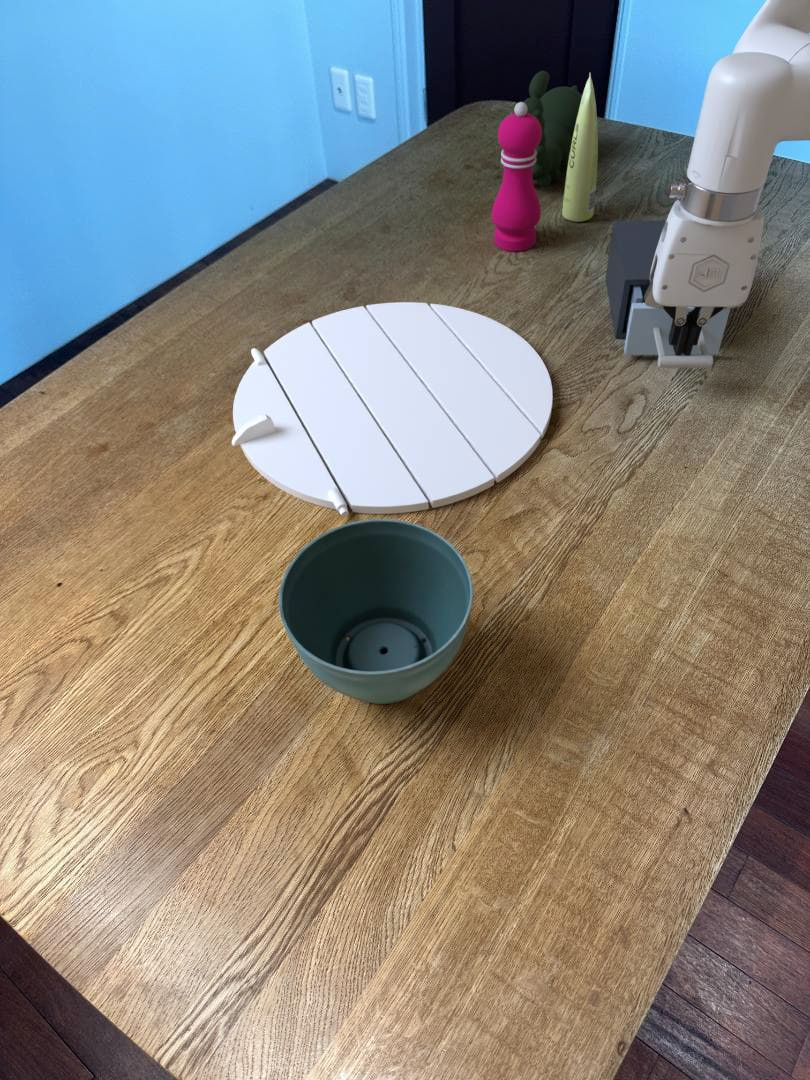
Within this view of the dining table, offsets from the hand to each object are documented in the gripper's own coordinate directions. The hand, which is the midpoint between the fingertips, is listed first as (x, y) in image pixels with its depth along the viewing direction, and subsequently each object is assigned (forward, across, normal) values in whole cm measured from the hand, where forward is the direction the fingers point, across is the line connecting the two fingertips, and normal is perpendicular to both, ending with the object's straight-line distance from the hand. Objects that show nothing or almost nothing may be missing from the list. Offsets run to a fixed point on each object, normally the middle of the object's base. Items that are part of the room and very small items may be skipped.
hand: (680, 348), depth 95 cm
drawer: (+4, +1, +8) cm, 9 cm away
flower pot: (+7, -32, -40) cm, 52 cm away
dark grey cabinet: (+5, +1, +17) cm, 18 cm away
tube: (+5, -8, +43) cm, 44 cm away
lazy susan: (+6, -34, -2) cm, 35 cm away
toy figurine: (+5, -12, +59) cm, 61 cm away
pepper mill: (+5, -18, +35) cm, 40 cm away
